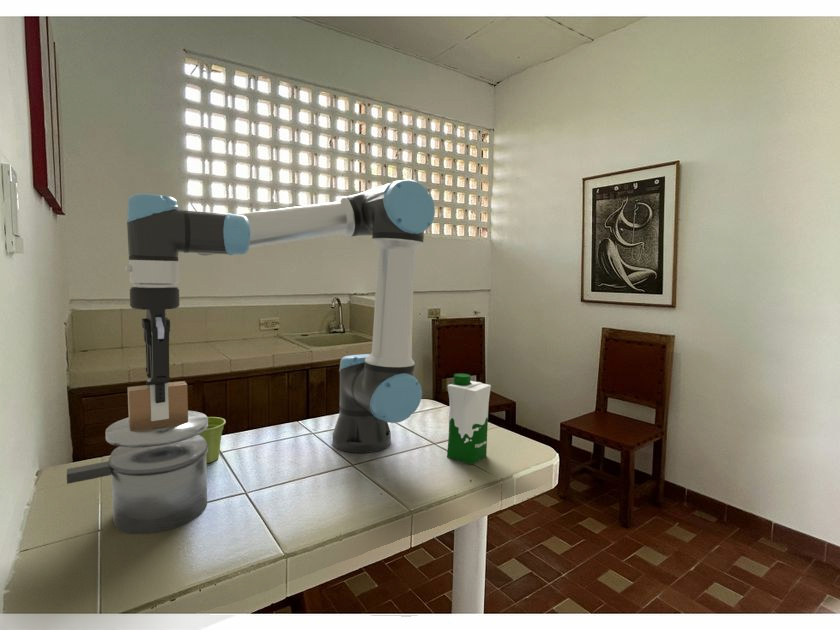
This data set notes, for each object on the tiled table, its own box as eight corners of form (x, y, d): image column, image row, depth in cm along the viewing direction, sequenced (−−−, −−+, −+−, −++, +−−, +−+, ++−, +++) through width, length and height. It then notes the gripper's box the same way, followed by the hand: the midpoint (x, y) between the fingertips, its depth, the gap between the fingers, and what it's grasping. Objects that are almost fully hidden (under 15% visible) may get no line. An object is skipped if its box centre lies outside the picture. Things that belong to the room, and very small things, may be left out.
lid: (198, 411, 94) (198, 372, 93) (216, 435, 81) (216, 390, 80) (104, 425, 85) (102, 381, 84) (107, 455, 72) (105, 403, 71)
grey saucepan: (200, 483, 95) (198, 427, 94) (217, 517, 83) (216, 452, 82) (71, 513, 83) (67, 448, 82) (69, 558, 70) (64, 483, 69)
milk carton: (460, 446, 119) (463, 370, 117) (492, 456, 113) (495, 376, 111) (441, 457, 112) (444, 376, 110) (473, 467, 106) (477, 383, 104)
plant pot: (172, 462, 105) (171, 425, 104) (208, 448, 113) (207, 414, 113) (199, 471, 101) (198, 433, 100) (235, 456, 109) (234, 421, 108)
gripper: (126, 283, 85) (130, 408, 87) (133, 288, 72) (138, 434, 74) (171, 283, 89) (174, 402, 91) (186, 288, 76) (189, 425, 78)
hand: (158, 416), depth 83 cm, fingers closed on lid, 3 cm apart
